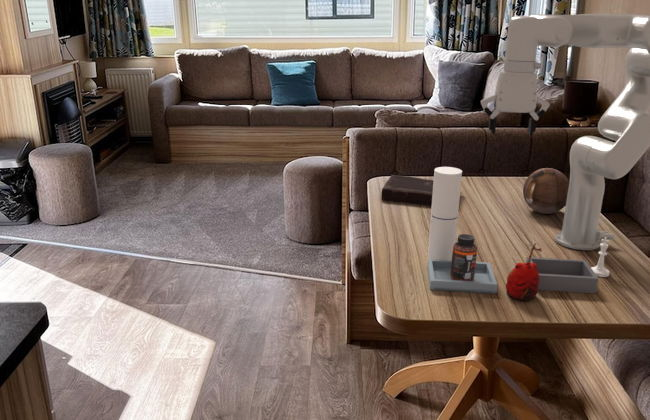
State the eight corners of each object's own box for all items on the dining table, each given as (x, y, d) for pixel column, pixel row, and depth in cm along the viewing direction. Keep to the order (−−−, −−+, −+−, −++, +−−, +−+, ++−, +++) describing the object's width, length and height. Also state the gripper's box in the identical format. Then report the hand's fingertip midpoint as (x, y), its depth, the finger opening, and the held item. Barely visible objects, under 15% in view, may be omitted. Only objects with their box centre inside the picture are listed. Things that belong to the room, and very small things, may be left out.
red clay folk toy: (530, 289, 157) (538, 233, 152) (542, 302, 150) (551, 244, 145) (500, 290, 156) (507, 234, 151) (512, 304, 149) (519, 245, 144)
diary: (453, 210, 213) (454, 196, 212) (380, 202, 220) (381, 188, 218) (459, 194, 230) (460, 180, 228) (391, 186, 237) (392, 173, 235)
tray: (488, 271, 166) (489, 262, 166) (496, 293, 154) (497, 284, 153) (427, 267, 168) (428, 259, 167) (430, 289, 156) (430, 280, 155)
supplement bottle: (474, 284, 158) (478, 242, 154) (449, 281, 159) (453, 240, 155) (473, 274, 163) (478, 233, 159) (450, 272, 164) (454, 231, 160)
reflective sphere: (557, 205, 218) (563, 163, 213) (575, 220, 204) (582, 175, 199) (514, 204, 218) (519, 162, 213) (529, 220, 204) (535, 175, 199)
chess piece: (607, 278, 164) (614, 242, 160) (587, 274, 166) (593, 238, 163) (610, 271, 167) (617, 236, 164) (591, 267, 170) (597, 232, 167)
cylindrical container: (438, 265, 170) (445, 175, 161) (422, 255, 176) (429, 168, 167) (459, 260, 173) (467, 172, 164) (443, 251, 179) (450, 165, 170)
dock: (583, 274, 166) (585, 260, 164) (595, 293, 155) (598, 278, 154) (524, 270, 167) (526, 257, 166) (533, 289, 157) (535, 275, 155)
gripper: (550, 66, 163) (542, 131, 169) (482, 64, 164) (476, 129, 170) (557, 70, 156) (548, 138, 162) (486, 68, 157) (479, 135, 163)
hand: (511, 133), depth 166 cm, fingers open, 9 cm apart
